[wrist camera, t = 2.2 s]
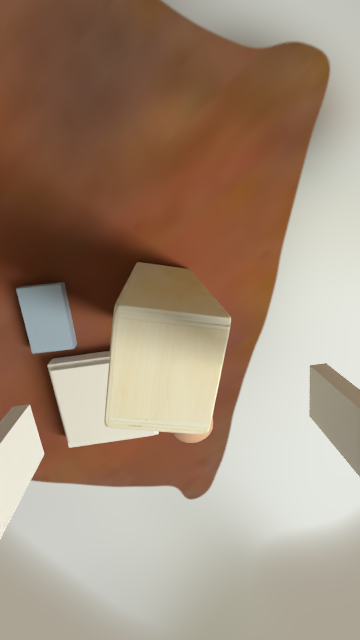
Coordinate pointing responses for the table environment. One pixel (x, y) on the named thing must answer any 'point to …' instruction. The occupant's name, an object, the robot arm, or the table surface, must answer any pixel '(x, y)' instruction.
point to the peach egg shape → (193, 435)
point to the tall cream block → (165, 352)
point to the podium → (86, 399)
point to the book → (47, 317)
